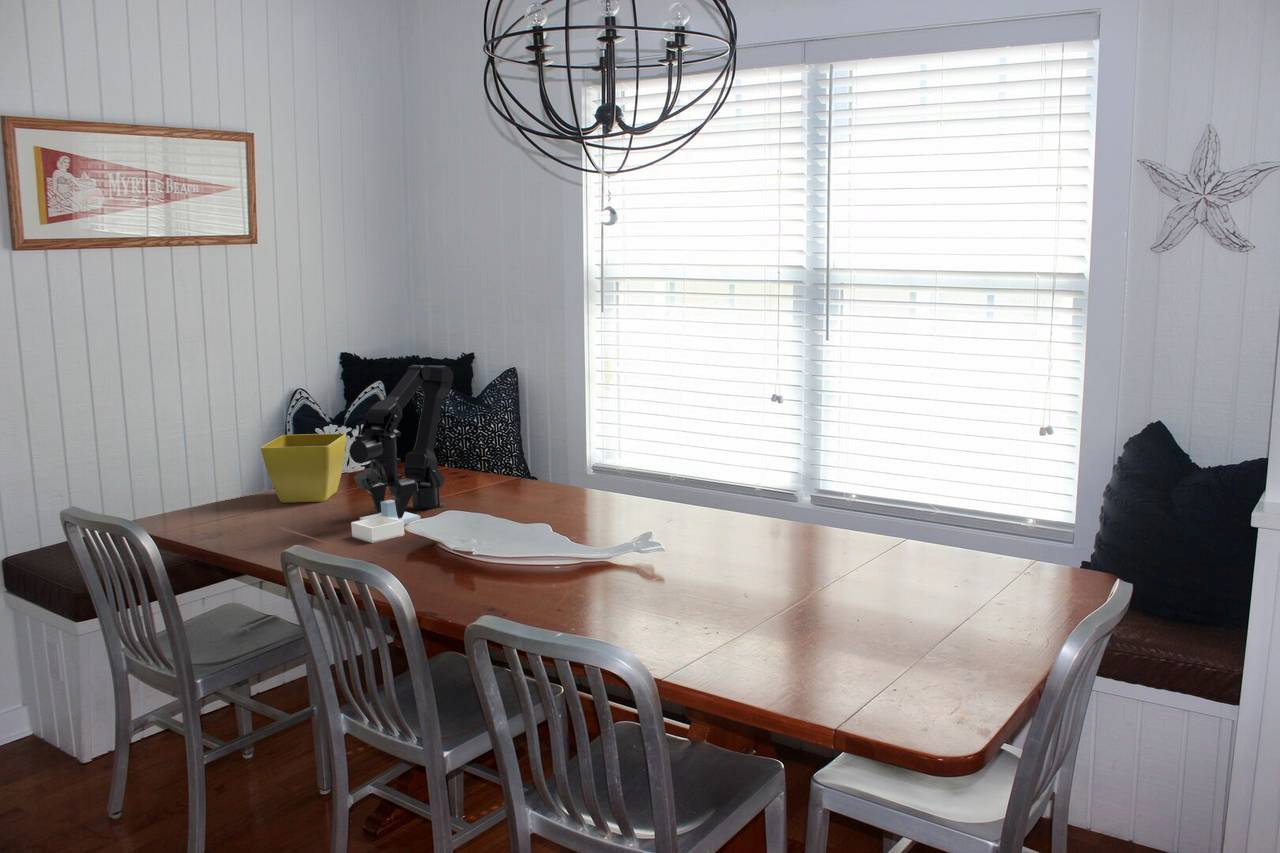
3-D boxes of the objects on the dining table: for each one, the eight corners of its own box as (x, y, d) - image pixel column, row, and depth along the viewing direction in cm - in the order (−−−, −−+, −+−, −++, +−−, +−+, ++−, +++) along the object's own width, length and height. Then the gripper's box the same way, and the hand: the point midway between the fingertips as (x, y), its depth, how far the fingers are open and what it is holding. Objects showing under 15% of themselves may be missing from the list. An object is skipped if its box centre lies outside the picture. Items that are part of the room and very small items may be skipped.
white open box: (384, 530, 273) (382, 515, 272) (404, 536, 267) (403, 520, 266) (352, 538, 266) (351, 522, 266) (372, 544, 260) (371, 528, 260)
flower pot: (332, 504, 302) (328, 445, 300) (264, 506, 303) (259, 447, 300) (351, 489, 321) (347, 433, 318) (287, 490, 322) (282, 434, 319)
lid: (396, 513, 288) (394, 494, 287) (420, 520, 281) (419, 500, 280) (359, 522, 280) (358, 502, 279) (383, 529, 273) (382, 508, 272)
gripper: (337, 456, 278) (342, 516, 281) (378, 465, 265) (383, 527, 268) (375, 449, 286) (379, 507, 289) (417, 458, 273) (421, 518, 276)
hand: (389, 515), depth 280 cm, fingers open, 9 cm apart
